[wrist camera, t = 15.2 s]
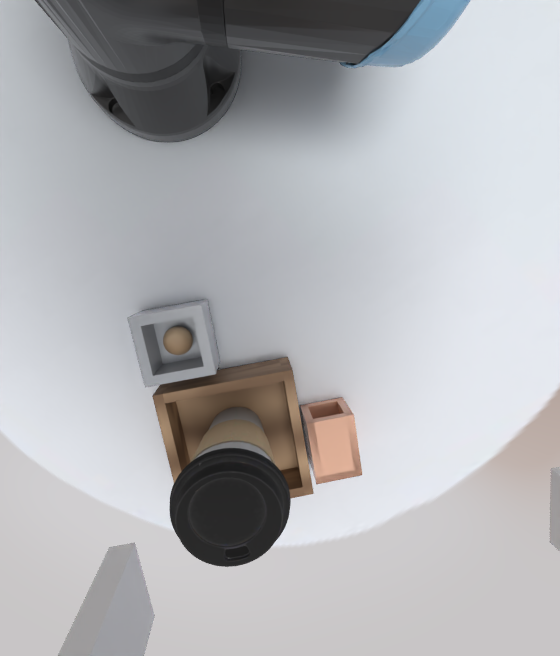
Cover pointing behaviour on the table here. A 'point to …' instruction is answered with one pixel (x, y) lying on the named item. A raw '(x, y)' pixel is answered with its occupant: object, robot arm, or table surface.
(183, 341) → the cork ball
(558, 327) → the table surface
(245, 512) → the coffee cup
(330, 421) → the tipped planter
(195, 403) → the walnut box
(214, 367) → the grey tub
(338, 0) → the robot arm
